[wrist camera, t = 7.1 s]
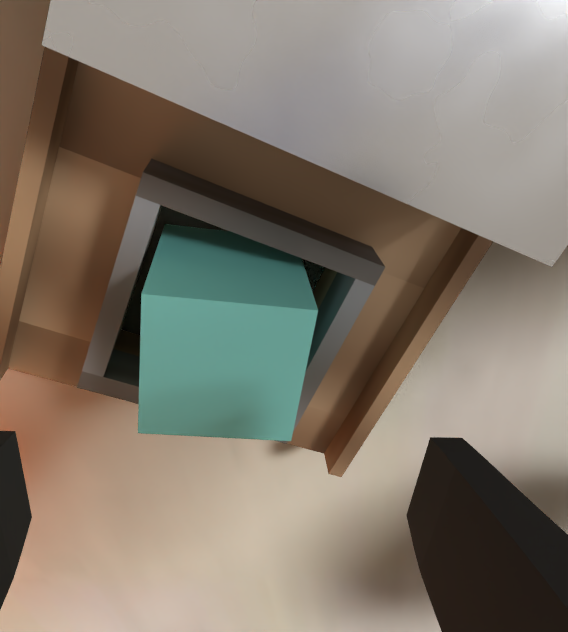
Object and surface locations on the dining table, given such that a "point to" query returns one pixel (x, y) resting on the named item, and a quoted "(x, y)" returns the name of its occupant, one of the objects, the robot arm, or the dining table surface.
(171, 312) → the block
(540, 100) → the housing cover
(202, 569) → the dining table surface
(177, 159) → the housing base
